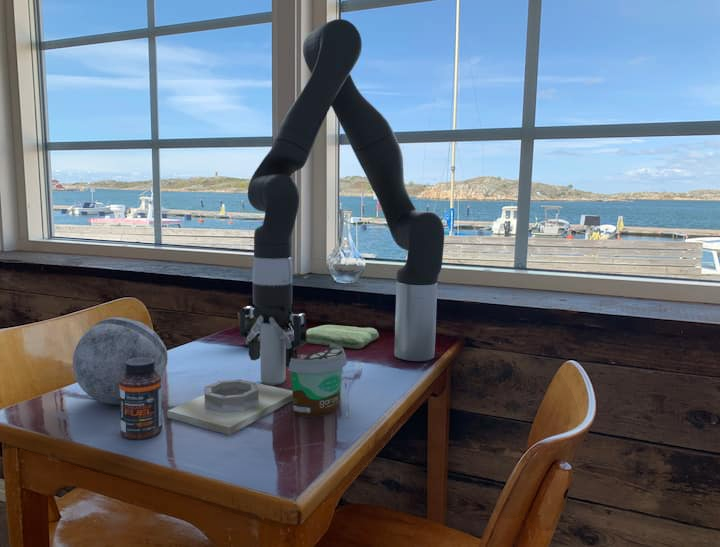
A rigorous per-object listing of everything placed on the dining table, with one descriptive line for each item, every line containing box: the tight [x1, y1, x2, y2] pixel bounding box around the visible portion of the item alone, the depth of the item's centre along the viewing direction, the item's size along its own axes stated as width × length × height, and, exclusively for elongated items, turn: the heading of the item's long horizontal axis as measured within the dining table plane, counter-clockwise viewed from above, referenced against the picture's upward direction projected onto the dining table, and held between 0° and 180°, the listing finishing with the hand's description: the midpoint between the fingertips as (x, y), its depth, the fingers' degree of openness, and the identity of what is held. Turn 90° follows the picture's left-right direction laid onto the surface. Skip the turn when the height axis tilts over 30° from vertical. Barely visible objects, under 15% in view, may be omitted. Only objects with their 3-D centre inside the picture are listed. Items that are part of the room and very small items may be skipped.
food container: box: [288, 343, 348, 418], centre depth 94 cm, size 12×6×10 cm, turn 148°
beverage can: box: [260, 323, 287, 386], centre depth 108 cm, size 5×5×12 cm
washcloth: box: [306, 324, 380, 350], centre depth 141 cm, size 13×18×3 cm
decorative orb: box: [72, 316, 169, 405], centre depth 96 cm, size 15×14×15 cm
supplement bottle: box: [119, 357, 163, 440], centre depth 84 cm, size 6×6×11 cm
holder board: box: [167, 378, 293, 436], centre depth 95 cm, size 18×13×4 cm
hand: (272, 362), depth 108 cm, fingers open, 8 cm apart
